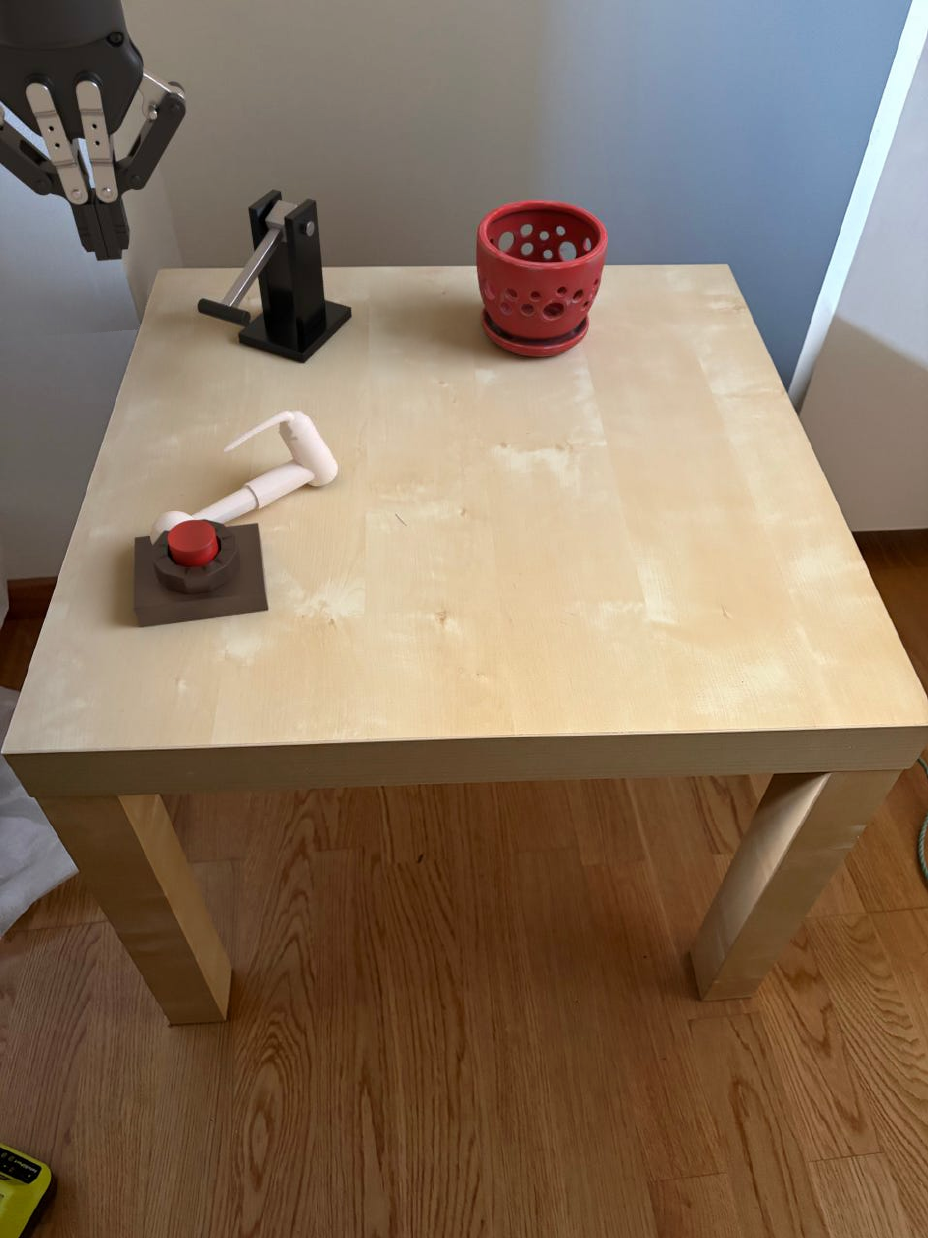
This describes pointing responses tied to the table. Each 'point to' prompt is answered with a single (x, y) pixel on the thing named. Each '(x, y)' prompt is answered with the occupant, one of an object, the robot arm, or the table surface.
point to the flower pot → (539, 276)
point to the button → (193, 543)
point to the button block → (200, 578)
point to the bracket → (292, 286)
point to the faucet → (305, 467)
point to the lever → (250, 270)
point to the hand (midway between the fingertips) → (110, 253)
